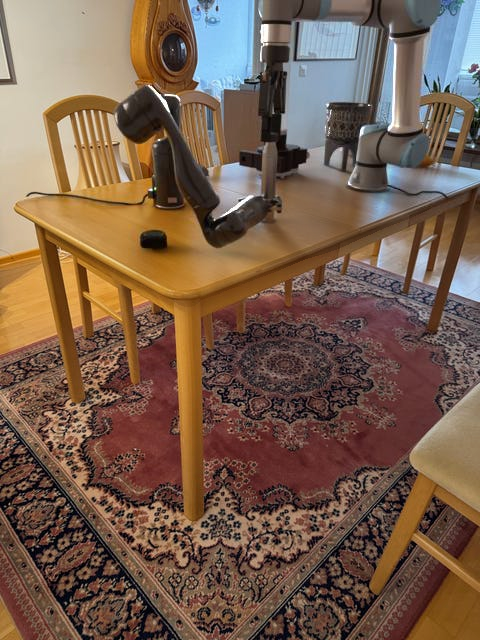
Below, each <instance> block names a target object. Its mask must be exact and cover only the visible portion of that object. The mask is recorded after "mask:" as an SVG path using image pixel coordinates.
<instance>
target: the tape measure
mask: <svg viewBox="0 0 480 640" xmlns="http://www.w3.org/2000/svg"><path fill="white" fill-rule="evenodd" d="M167 236H168V235H167V234H166V232H165V231H164V230H161V229H147V230H144V231H143V232H141V233H140V235H139V240H140V241H139V245H140V246H139V247H141V248H142V249H146V250H157V249H167V248H168V240H167V239H168V237H167Z"/></svg>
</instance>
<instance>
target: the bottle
mask: <svg viewBox="0 0 480 640" xmlns="http://www.w3.org/2000/svg"><path fill="white" fill-rule="evenodd" d="M276 171H277V148H276V142H270V143H269V142H266V143H265V147H264V150H263V156H262V175H261V179H260V180H261V182H260V183H261V184H260V194H261V198H263V199H267V198H272V199H273V198H274V197H276V187H277V176H276ZM274 221H275V210H272V212H269V213H268V214H267V216H266V217H265V218H264V219H263V220H262V221H261V222H262V223H273V222H274ZM261 222H260V223H261Z"/></svg>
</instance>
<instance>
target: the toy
mask: <svg viewBox="0 0 480 640" xmlns="http://www.w3.org/2000/svg"><path fill="white" fill-rule="evenodd" d="M434 164H435V160H434V159H433V158H430V156H429V155H428V154H427V155H426V157H425V158H424V159H423V161H422V162H421V163H420V164H419V165H418V166H417V167H418V168H421V169H422V168H423V169H424V168H426V167H430V166H433V165H434Z"/></svg>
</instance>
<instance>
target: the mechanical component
mask: <svg viewBox="0 0 480 640" xmlns="http://www.w3.org/2000/svg"><path fill="white" fill-rule="evenodd" d="M287 138H288V129H287V128H286V127H281V136H280V139H278V142H276V148H277V171H276V177H279V178H280V179H285V176H291V175H292V173H298V171H299V167H300V165H303V164H304V165H305V164H307V160H309V158H310V156H311V154H310V152H309V151H308V148H304V147H301V146H299V145H297V144H290V143H287ZM265 143H266V142H263V145H262V146H258V147H257V148H256V151H250V150H245V149H241V150H239V153H238V154H239V155H238V157H239V159H238V166H240V167H245V168H250V169H255V173H256V174H257V175H261V176H262V156H263V150H264V147H265Z"/></svg>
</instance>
